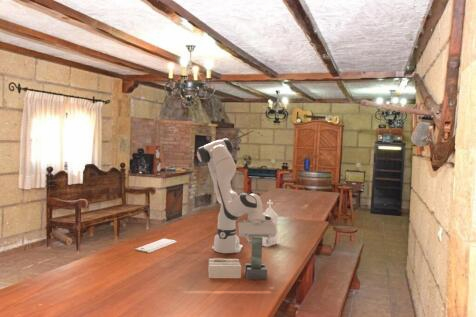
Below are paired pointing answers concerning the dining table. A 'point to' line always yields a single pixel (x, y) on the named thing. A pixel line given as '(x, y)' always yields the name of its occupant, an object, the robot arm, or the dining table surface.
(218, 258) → the pine offcut
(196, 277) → the dining table surface
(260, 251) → the teal board
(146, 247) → the white keyboard
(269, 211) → the religious statue
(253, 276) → the charcoal holder
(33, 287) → the dining table surface
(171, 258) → the dining table surface
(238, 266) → the white rack
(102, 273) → the dining table surface
